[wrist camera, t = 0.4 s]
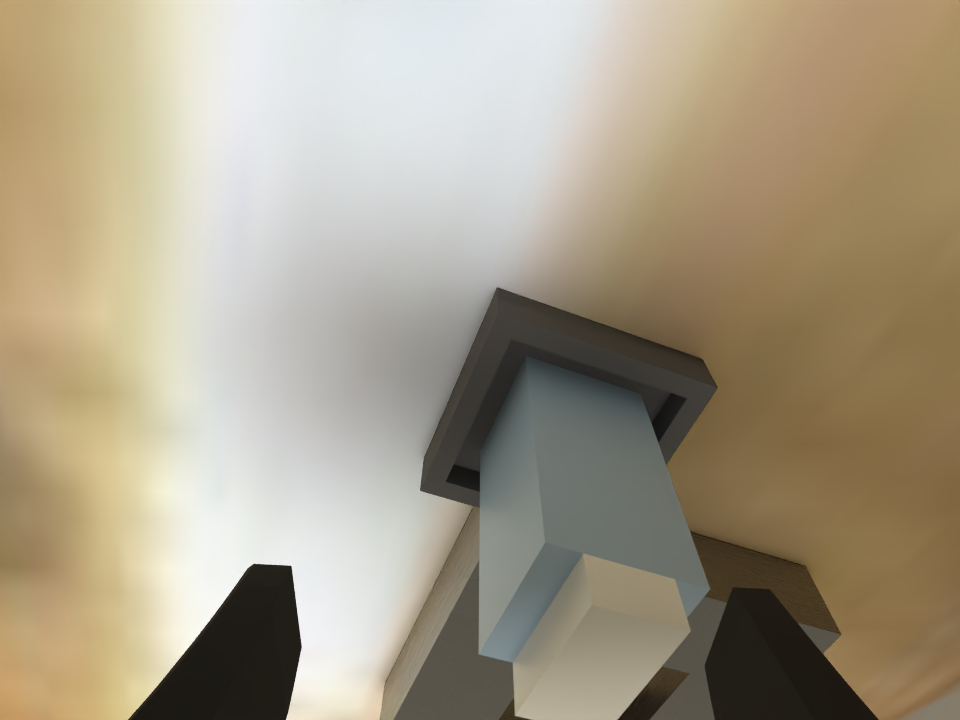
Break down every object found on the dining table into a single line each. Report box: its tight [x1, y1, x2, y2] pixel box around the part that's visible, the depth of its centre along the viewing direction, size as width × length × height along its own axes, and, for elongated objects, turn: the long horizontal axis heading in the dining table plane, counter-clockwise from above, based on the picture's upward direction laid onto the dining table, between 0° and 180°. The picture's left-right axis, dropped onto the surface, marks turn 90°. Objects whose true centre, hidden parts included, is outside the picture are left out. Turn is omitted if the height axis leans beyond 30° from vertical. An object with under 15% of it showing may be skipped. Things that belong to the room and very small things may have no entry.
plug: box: [479, 356, 710, 720], centre depth 17 cm, size 4×4×8 cm
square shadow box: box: [420, 288, 718, 508], centre depth 20 cm, size 6×6×2 cm
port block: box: [380, 506, 841, 720], centre depth 25 cm, size 12×12×3 cm
